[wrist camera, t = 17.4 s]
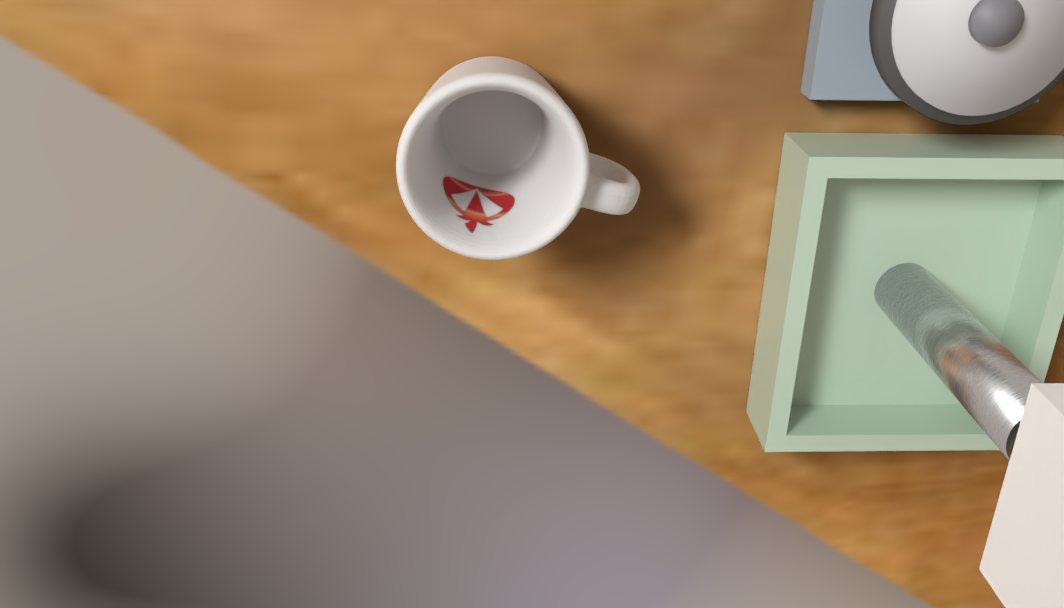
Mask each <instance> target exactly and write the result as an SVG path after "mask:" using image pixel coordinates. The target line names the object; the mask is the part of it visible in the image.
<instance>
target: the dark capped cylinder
mask: <svg viewBox="0 0 1064 608" xmlns="http://www.w3.org/2000/svg"><path fill="white" fill-rule="evenodd" d="M874 296H875V301H876V303H877V305H878V306H879V308H880V309H881V310H882V311H883V312H884V314H885V315H886V316H887V317H888V318H889V320H890V321H891V322H892V323H893V324H894V325H895V327H896V328H897V329H898V330H899V331H900V333H901V334H902V335H903V336H904V337H905V338H906V340H907V341H908V342H909V343H910V344H911V346H912V347H913V348H914V349H915V350H916V351H917V353H918V354H919V355H920V356H921V357H922V359H923V360H924V361H925V362H926V363H927V364H928V366H929V367H930V368H931V369H932V370H933V371H934V373H935V374H936V375H937V376H938V377H939V379H940V380H941V381H942V382H943V383H944V384H945V386H946V387H947V388H948V389H949V390H950V392H951V393H952V394H953V395H954V396H955V397H956V399H957V400H958V401H959V402H960V403H961V405H962V406H963V407H964V408H965V409H966V410H967V412H968V413H969V414H970V415H971V416H972V418H973V419H974V420H975V421H976V422H977V423H978V425H979V426H980V427H981V428H982V429H983V431H984V432H985V433H986V434H987V435H988V436H989V438H990V439H991V440H992V441H993V442H994V444H995V445H996V446H997V447H998V448H999V449H1000V451H1001V452H1002V453H1003V454H1004V455H1005V456H1006V458H1007V459H1008V460H1009V461H1010V457H1011V454H1012V450H1013V447H1014V443H1015V440H1016V436H1017V432H1018V429H1019V425H1020V422H1021V418H1022V415H1023V411H1024V408H1025V404H1026V401H1027V397H1028V393H1029V390H1030V386H1031V383H1042V382H1041V381H1040V380H1039V379H1038V378H1037V377H1036V376H1035V375H1034V374H1033V373H1032V372H1031V371H1030V370H1029V369H1028V368H1027V367H1026V366H1025V365H1024V364H1023V363H1022V362H1020V361H1019V360H1018V359H1017V358H1016V357H1015V356H1014V355H1013V354H1012V353H1011V352H1010V351H1009V350H1008V349H1007V348H1006V347H1005V346H1004V345H1003V344H1002V343H1001V342H1000V341H999V340H998V339H997V338H996V337H995V336H994V335H993V334H992V333H991V332H990V331H989V330H988V329H987V328H986V327H984V326H983V325H982V324H981V323H980V322H979V321H978V320H977V319H976V318H975V317H974V316H973V315H972V314H971V313H970V312H969V311H968V310H967V309H966V308H965V307H964V306H963V305H962V304H961V303H960V302H959V301H958V300H957V299H956V298H955V297H954V296H953V295H952V294H951V293H950V292H948V291H947V290H946V289H945V288H944V287H943V286H942V285H941V284H940V283H939V282H938V281H937V280H936V279H935V278H934V277H933V276H932V275H931V274H930V273H929V272H928V271H927V270H926V269H925V268H923V267H922V266H920V265H918V264H914V263H902V264H898V265H896V266H893V267H892V268H890V269H888V270H887V271H886V272H885V273H884V274H883V275H882V276H881V277H880V278H879V280H878V282H877V284H876V287H875V292H874Z"/></svg>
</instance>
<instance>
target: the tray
mask: <svg viewBox="0 0 1064 608" xmlns="http://www.w3.org/2000/svg"><path fill="white" fill-rule="evenodd" d="M902 263H914V264H918V265H920V266H922V267H923V268H925V269H926V270H927V271H928V272H929V273H930V274H931V275H932V276H933V277H934V278H935V279H936V280H937V281H938V282H939V283H940V284H941V285H942V286H943V287H944V288H945V289H946V290H947V291H948V292H950V293H951V294H952V295H953V296H954V297H955V298H956V299H957V300H958V301H959V302H960V303H961V304H962V305H963V306H964V307H965V308H966V309H967V310H968V311H969V312H970V313H971V314H972V315H973V316H974V317H975V318H976V319H977V320H978V321H979V322H980V323H981V324H982V325H983V326H984V327H986V328H987V329H988V330H989V331H990V332H991V333H992V334H993V335H994V336H995V337H996V338H997V339H998V340H999V341H1000V342H1001V343H1002V344H1003V345H1004V346H1005V347H1006V348H1007V349H1008V350H1009V351H1010V352H1011V353H1012V354H1013V355H1014V356H1015V357H1016V358H1017V359H1018V360H1019V361H1020V362H1022V363H1023V364H1024V365H1025V366H1026V367H1027V368H1028V369H1029V370H1030V371H1031V372H1032V373H1033V374H1034V375H1035V376H1036V377H1037V378H1038V379H1039V380H1040V381H1041V382H1042V383H1044V381H1045V377H1046V374H1047V371H1048V367H1049V364H1050V360H1051V357H1052V353H1053V350H1054V346H1055V343H1056V339H1057V336H1058V332H1059V329H1060V325H1061V322H1062V318H1063V315H1064V136H1063V135H990V134H884V133H785V134H784V141H783V148H782V155H781V163H780V170H779V177H778V184H777V192H776V199H775V206H774V214H773V221H772V228H771V235H770V243H769V250H768V257H767V264H766V272H765V279H764V286H763V293H762V301H761V308H760V315H759V322H758V330H757V337H756V344H755V351H754V359H753V366H752V373H751V380H750V388H749V395H748V402H747V409H746V412H747V414H748V416H749V418H750V421H751V423H752V425H753V427H754V429H755V431H756V434H757V436H758V438H759V440H760V442H761V445H762V447H763V449H764V451H765V452H811V451H941V450H1000V449H999V448H998V447H997V446H996V445H995V444H994V442H993V441H992V440H991V439H990V438H989V436H988V435H987V434H986V433H985V432H984V431H983V429H982V428H981V427H980V426H979V425H978V423H977V422H976V421H975V420H974V419H973V418H972V416H971V415H970V414H969V413H968V412H967V410H966V409H965V408H964V407H963V406H962V405H961V403H960V402H959V401H958V400H957V399H956V397H955V396H954V395H953V394H952V393H951V392H950V390H949V389H948V388H947V387H946V386H945V384H944V383H943V382H942V381H941V380H940V379H939V377H938V376H937V375H936V374H935V373H934V371H933V370H932V369H931V368H930V367H929V366H928V364H927V363H926V362H925V361H924V360H923V359H922V357H921V356H920V355H919V354H918V353H917V351H916V350H915V349H914V348H913V347H912V346H911V344H910V343H909V342H908V341H907V340H906V338H905V337H904V336H903V335H902V334H901V333H900V331H899V330H898V329H897V328H896V327H895V325H894V324H893V323H892V322H891V321H890V320H889V318H888V317H887V316H886V315H885V314H884V312H883V311H882V310H881V309H880V308H879V306H878V305H877V303H876V301H875V296H874V292H875V287H876V284H877V282H878V280H879V278H880V277H881V276H882V275H883V274H884V273H885V272H886V271H887V270H888V269H890V268H892V267H893V266H896V265H898V264H902Z"/></svg>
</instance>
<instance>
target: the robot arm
mask: <svg viewBox="0 0 1064 608" xmlns="http://www.w3.org/2000/svg"><path fill="white" fill-rule="evenodd" d="M979 570H980V571H981V572H982V574H983V575H984V577H985V578H986V580H987V581H988V583H989V584H990V586H991V587H992V589H993V590H994V592H995V593H996V595H997V596H998V598H999V599H1000V601H1001V602H1002V604H1003V605H1004V606H1005V608H1064V383H1031V386H1030V390H1029V393H1028V397H1027V401H1026V404H1025V408H1024V411H1023V415H1022V418H1021V422H1020V425H1019V429H1018V432H1017V436H1016V440H1015V443H1014V447H1013V450H1012V454H1011V457H1010V461H1009V464H1008V468H1007V471H1006V475H1005V479H1004V482H1003V486H1002V489H1001V493H1000V496H999V500H998V503H997V507H996V510H995V514H994V518H993V521H992V525H991V528H990V532H989V535H988V539H987V542H986V546H985V550H984V553H983V557H982V560H981V564H980V567H979Z"/></svg>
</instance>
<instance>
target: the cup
mask: <svg viewBox="0 0 1064 608" xmlns="http://www.w3.org/2000/svg"><path fill="white" fill-rule="evenodd" d="M396 175H397V182H398V187H399V190H400V194H401V197H402V199H403V202H404V204H405V206H406V208H407V210H408V212H409V214H410V215H411V217H412V218H413V220H414V221H415V222H416V224H417V225H418V226H419V227H420V228H421V229H422V231H423V232H425V233H426V234H427V235H428V236H429V237H430V238H431V239H433V240H434V241H435V242H437V243H438V244H440V245H441V246H443V247H445V248H447V249H448V250H451V251H453V252H455V253H458V254H461V255H463V256H467V257H471V258H476V259H483V260H504V259H511V258H516V257H520V256H523V255H526V254H529V253H532V252H534V251H536V250H538V249H540V248H542V247H544V246H545V245H547V244H548V243H550V242H551V241H553V240H554V239H555V238H556V237H558V236H559V235H560V234H561V233H562V232H563V231H564V230H565V229H566V228H567V227H568V226H569V224H570V223H571V222H572V221H573V219H574V218H575V216H576V215H577V213H578V211H579V209H580V208H587V209H591V210H594V211H598V212H602V213H607V214H613V215H623V214H627V213H629V212H630V211H631V210H632V209H633V208H634V206H635V204H636V202H637V200H638V197H639V194H640V184H639V182H638V180H637V178H636V177H635V176H634V175H633V174H632V173H631V172H630V171H629V170H628V169H626V168H625V167H623V166H622V165H620V164H618V163H616V162H614V161H612V160H610V159H607V158H605V157H602V156H599V155H596V154H593V153H590V152H589V149H588V144H587V141H586V138H585V135H584V132H583V130H582V127H581V125H580V123H579V121H578V120H577V118H576V116H575V115H574V113H573V112H572V110H571V109H570V108H569V107H568V105H567V104H566V103H565V102H564V101H563V100H562V98H561V97H560V96H559V95H558V94H557V92H556V91H555V90H554V89H553V88H552V86H551V85H550V84H549V83H548V82H547V81H546V80H545V79H544V78H543V77H542V76H541V75H540V74H539V73H537V72H536V71H535V70H533V69H532V68H530V67H529V66H527V65H525V64H523V63H521V62H518V61H516V60H512V59H509V58H504V57H495V56H487V57H479V58H474V59H470V60H468V61H465V62H462V63H460V64H458V65H456V66H454V67H453V68H451V69H450V70H448V71H447V72H446V73H445V74H443V75H442V76H441V77H440V78H439V79H438V80H437V81H436V82H435V84H434V85H433V86H432V87H431V89H430V90H429V91H428V93H427V94H426V95H425V97H424V98H423V100H422V101H421V102H420V104H419V105H418V106H417V108H416V109H415V110H414V112H413V113H412V115H411V116H410V118H409V119H408V121H407V123H406V125H405V127H404V130H403V132H402V135H401V138H400V141H399V145H398V149H397V157H396Z"/></svg>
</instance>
